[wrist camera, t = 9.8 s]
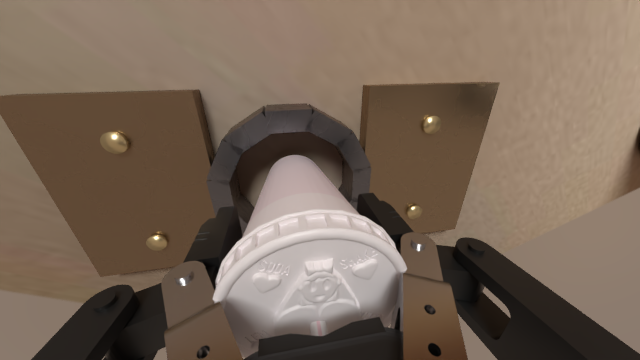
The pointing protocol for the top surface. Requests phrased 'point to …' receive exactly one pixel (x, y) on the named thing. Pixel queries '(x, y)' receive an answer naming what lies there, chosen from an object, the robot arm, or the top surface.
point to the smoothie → (305, 261)
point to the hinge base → (234, 160)
